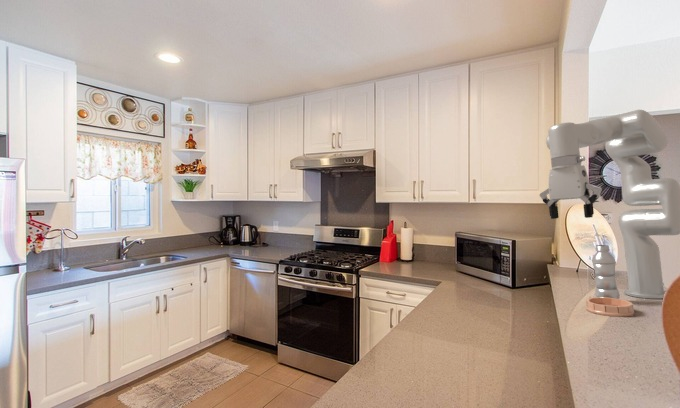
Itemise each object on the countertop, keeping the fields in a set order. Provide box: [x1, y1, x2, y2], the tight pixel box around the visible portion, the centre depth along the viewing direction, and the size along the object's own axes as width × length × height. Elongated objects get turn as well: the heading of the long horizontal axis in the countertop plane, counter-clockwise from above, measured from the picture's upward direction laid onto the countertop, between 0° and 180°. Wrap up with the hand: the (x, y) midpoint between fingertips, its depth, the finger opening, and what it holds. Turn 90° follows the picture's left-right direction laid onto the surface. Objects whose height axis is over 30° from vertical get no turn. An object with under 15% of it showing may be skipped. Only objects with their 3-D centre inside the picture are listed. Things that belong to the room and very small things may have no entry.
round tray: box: [585, 296, 635, 318], centre depth 106 cm, size 12×12×3 cm
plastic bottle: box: [591, 244, 620, 299], centre depth 116 cm, size 6×7×20 cm
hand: (571, 217), depth 101 cm, fingers open, 9 cm apart
